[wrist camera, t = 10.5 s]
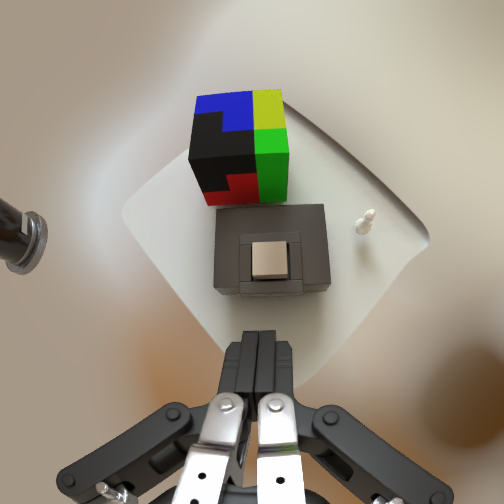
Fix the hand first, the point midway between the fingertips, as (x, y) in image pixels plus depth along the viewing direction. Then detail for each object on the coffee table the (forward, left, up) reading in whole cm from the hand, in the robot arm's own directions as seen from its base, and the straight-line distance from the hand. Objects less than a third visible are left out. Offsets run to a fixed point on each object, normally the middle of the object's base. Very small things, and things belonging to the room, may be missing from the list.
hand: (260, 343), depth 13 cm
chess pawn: (+11, +14, -20) cm, 26 cm away
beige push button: (0, +8, -14) cm, 16 cm away
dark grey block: (0, +10, -19) cm, 22 cm away
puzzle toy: (-3, +22, -19) cm, 30 cm away
